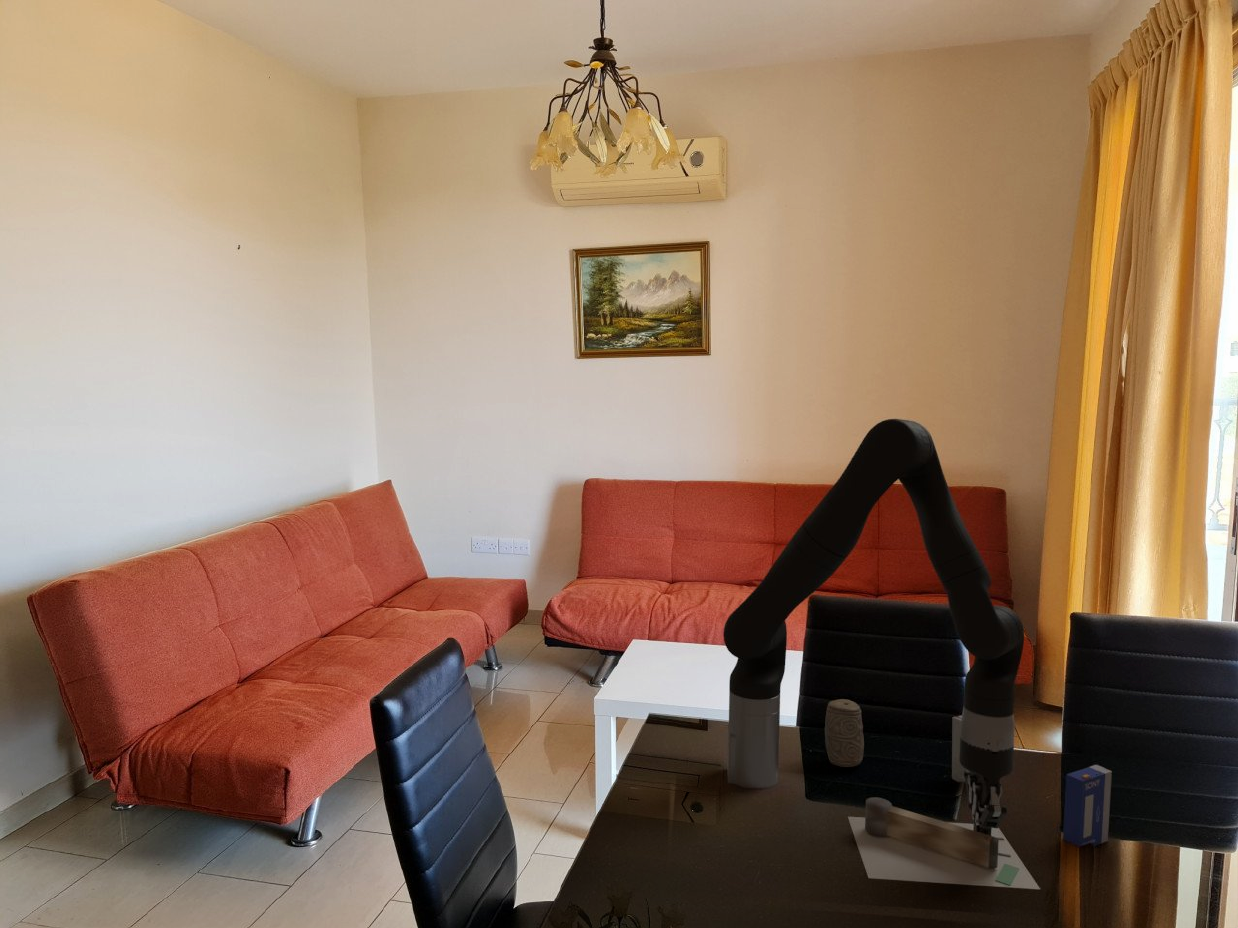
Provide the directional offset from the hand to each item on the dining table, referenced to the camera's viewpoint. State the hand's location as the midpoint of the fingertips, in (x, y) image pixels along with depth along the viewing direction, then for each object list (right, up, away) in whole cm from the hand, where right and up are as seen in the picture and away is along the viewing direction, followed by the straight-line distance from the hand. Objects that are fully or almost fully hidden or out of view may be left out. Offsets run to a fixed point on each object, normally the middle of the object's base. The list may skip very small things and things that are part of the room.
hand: (981, 845), depth 129 cm
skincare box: (+9, 0, +25) cm, 26 cm away
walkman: (+19, -2, +5) cm, 20 cm away
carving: (-12, +1, +33) cm, 35 cm away
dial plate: (-7, -2, +1) cm, 7 cm away
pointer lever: (-8, 0, +1) cm, 8 cm away
